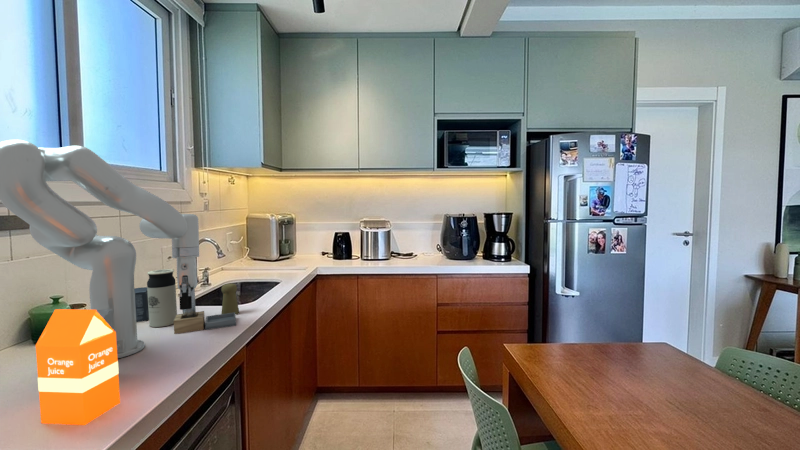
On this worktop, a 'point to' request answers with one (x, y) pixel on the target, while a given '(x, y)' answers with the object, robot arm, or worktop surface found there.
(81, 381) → the orange juice
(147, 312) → the box
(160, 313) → the travel mug
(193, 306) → the silver rectangular bar
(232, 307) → the olive green tall block
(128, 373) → the worktop surface
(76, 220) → the robot arm
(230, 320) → the tray
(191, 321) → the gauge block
